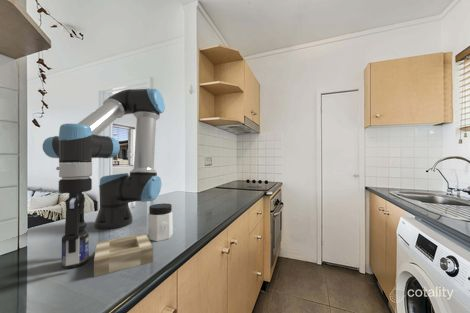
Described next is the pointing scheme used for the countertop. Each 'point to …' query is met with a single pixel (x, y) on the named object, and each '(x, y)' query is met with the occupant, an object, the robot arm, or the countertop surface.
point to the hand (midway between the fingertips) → (75, 256)
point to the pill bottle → (82, 248)
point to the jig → (122, 254)
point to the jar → (160, 222)
